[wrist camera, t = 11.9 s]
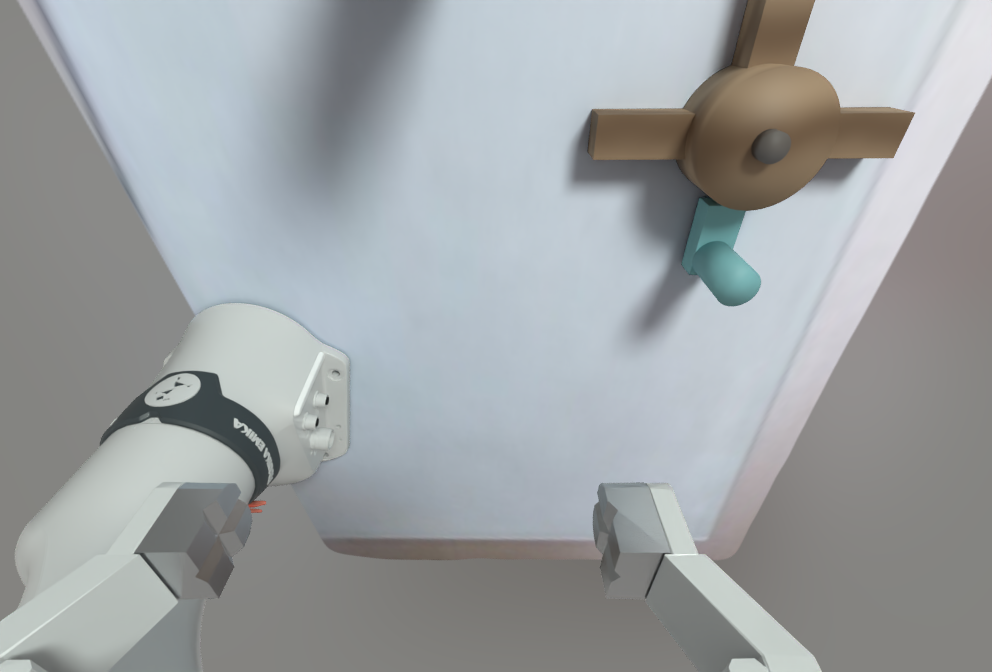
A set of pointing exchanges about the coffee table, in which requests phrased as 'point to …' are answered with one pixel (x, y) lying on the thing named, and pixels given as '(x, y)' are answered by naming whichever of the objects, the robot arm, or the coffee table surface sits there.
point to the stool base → (754, 119)
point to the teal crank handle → (719, 254)
